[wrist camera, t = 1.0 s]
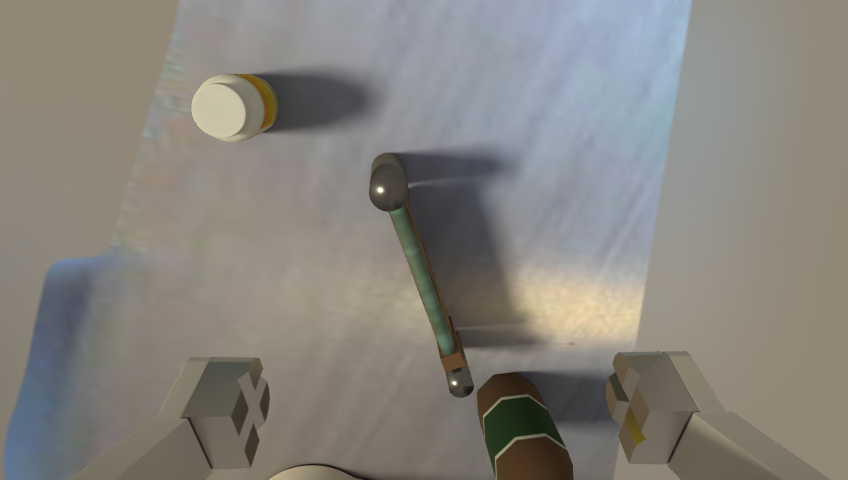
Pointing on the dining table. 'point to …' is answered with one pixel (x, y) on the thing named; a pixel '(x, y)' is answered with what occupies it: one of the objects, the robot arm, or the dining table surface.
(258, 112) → the supplement bottle
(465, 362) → the posts
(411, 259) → the brown wooden panel
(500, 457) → the beer bottle
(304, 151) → the dining table surface
